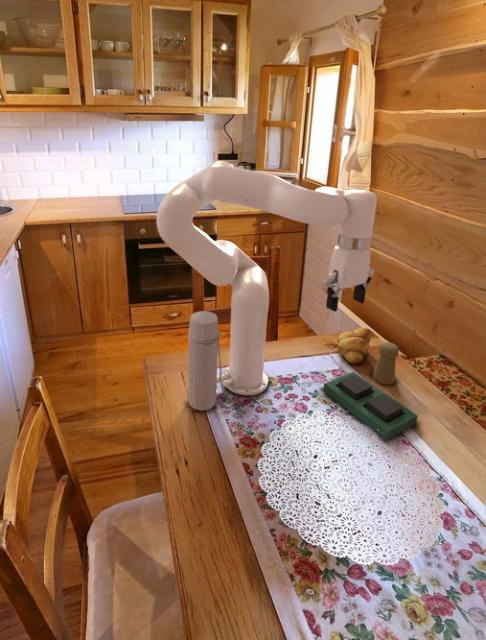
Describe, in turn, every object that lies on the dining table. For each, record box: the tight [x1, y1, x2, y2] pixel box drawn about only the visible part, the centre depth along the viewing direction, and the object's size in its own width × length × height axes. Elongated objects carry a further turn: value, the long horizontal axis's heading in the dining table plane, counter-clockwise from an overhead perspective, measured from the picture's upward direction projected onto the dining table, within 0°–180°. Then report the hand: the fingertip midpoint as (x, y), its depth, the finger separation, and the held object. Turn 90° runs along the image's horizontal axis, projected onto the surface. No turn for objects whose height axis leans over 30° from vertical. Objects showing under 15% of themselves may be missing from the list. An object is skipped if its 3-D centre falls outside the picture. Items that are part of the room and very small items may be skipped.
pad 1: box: [338, 375, 372, 401], centre depth 109 cm, size 6×6×4 cm
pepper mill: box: [372, 341, 400, 385], centre depth 115 cm, size 6×6×11 cm
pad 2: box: [365, 394, 403, 424], centre depth 101 cm, size 6×6×4 cm
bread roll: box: [337, 327, 372, 364], centre depth 127 cm, size 13×10×8 cm
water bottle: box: [187, 310, 223, 412], centre depth 102 cm, size 9×8×25 cm
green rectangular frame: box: [323, 371, 419, 441], centre depth 105 cm, size 11×20×2 cm, turn 31°
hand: (345, 305), depth 104 cm, fingers open, 9 cm apart
